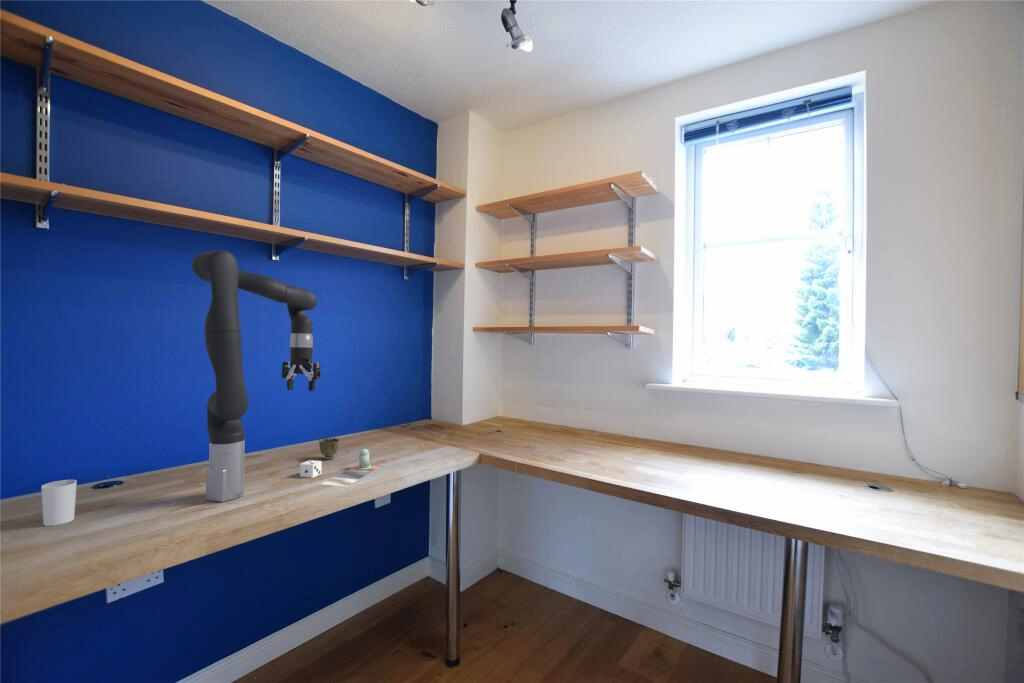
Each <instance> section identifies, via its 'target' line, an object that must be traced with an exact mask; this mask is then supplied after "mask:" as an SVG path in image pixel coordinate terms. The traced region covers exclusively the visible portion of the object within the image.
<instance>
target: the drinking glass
mask: <svg viewBox="0 0 1024 683" xmlns="http://www.w3.org/2000/svg"><path fill="white" fill-rule="evenodd" d="M77 481H78V480H76V479H64V480H62V479H61V480H55V481H51V482H48V483H45V484H42V485H41V489H40V490H41V504H42V520H43V521H42V522H43V525H44V526H46V527H52V526H58V525H64V524H67V523H69V522H72V521H74V520H75V510H76V496H77V495H76V494H77V484H78V482H77Z"/></svg>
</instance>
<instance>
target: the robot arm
mask: <svg viewBox="0 0 1024 683" xmlns="http://www.w3.org/2000/svg"><path fill="white" fill-rule="evenodd" d="M191 268H192V272H193V274H194V275H195V276H196V277H197V278H199V279H200V280H202V281H204V282H209V283H210V287H211V290H210V291H211V300H210V301H211V302H210V304H209V308H208V311H207V314H206V318H205V319H204V320H205V321H204V331H203V332H204V342H205V343H204V344H205V349H206V352H207V356H208V359H209V361H210V363H211V367H212V370H213V372H214V378H215V391H214V392H212V394H210V396H209V398H208V401H207V405H206V406H207V407H206V415H207V416H206V418H207V419H206V422H207V423H206V424H207V425H206V426H207V427H206V428H207V433H208V437H209V445H208V446H209V449H208V450H209V451H208V452H209V453H208V455H209V460H208V462H209V463H208V465H209V466H208V468H206V470H205V474H206V475H205V477H206V478H205V501H211V502H221V503H224V502H227V501H230V500H236V499H238V498H240V497H242V496H244V494H245V449H246V448H245V446H246V445H245V441H246V440H245V439H246V433H245V432H246V431H245V430H244V427H243V425H242V418H243V417H244V415H245V414H246V412H247V411H248V409H249V397H248V394H247V389H246V388H247V387H246V383H245V379H244V372H243V371H244V370H243V368H244V367H243V350H242V348H243V347H242V333H241V332H242V331H241V325H240V324H241V323H240V309H239V295H238V294H239V290H243V291H244V292H245V291H246V292H248V293H252V294H254V295H258V296H261V297H263V298H265V299H268V300H271V301H274V302H276V303H280V304H286V307H287V312H288V317H289V319H290V337H289V338H290V339H289V341H290V342H289V359H290V361H289V360H288V361H282V366H281V378H282V379H285V380H286V389H287V391H294V380H295V379H294V378H295V377H296V376H297V375H299V374H300V375H304V376H305V377H306V378H307V379H308V388H307V389H308V392H314V391H315V389H316V380H320V379H321V378H322V377H321V374H322V373H321V363H320V362H317V361H316V362H313V361H312V360H313V356H314V353H313V352H314V347H313V346H314V339H313V338H314V337H313V319H311V317H307V315H306V311H311V310H314V309H315V308H316V307H317V305H318V298H317V296H316V295H315V294H314V292H312V291H310V290H308V289H305V288H301V287H298V286H294V285H290V284H288V283H285V282H283V281H281V280H279V279H276V278H273V277H271V276H266V275H264V274H258V273H254V272H250V271H246V270H243V269H240V268H239V264H238V261H237V259H236V258H235V256H234V255H233V254H232V253H231V252H229V251H228V250H224V249H216V250H210V251H203V252H201V253H199V254H197V255H196V256H195V257H194V258H193V259H192V261H191Z"/></svg>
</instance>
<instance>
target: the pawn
mask: <svg viewBox="0 0 1024 683" xmlns="http://www.w3.org/2000/svg"><path fill="white" fill-rule="evenodd" d="M358 464H359V466H357V470H369V469H371V465H370V451H369V450H368V449H367V448H362V449H361V450H360V451H359V454H358Z"/></svg>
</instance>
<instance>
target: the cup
mask: <svg viewBox="0 0 1024 683" xmlns="http://www.w3.org/2000/svg"><path fill="white" fill-rule="evenodd" d="M318 442H319V450H320V454H321V455H322V456H323V459H324V460H326V461H329V460H333V459H334V457H335V454H337V451H338V448H339V442H340V439H339V438H336V437H333V438H332V437H329V438H328V437H325V438H322V439H319V440H318Z"/></svg>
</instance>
